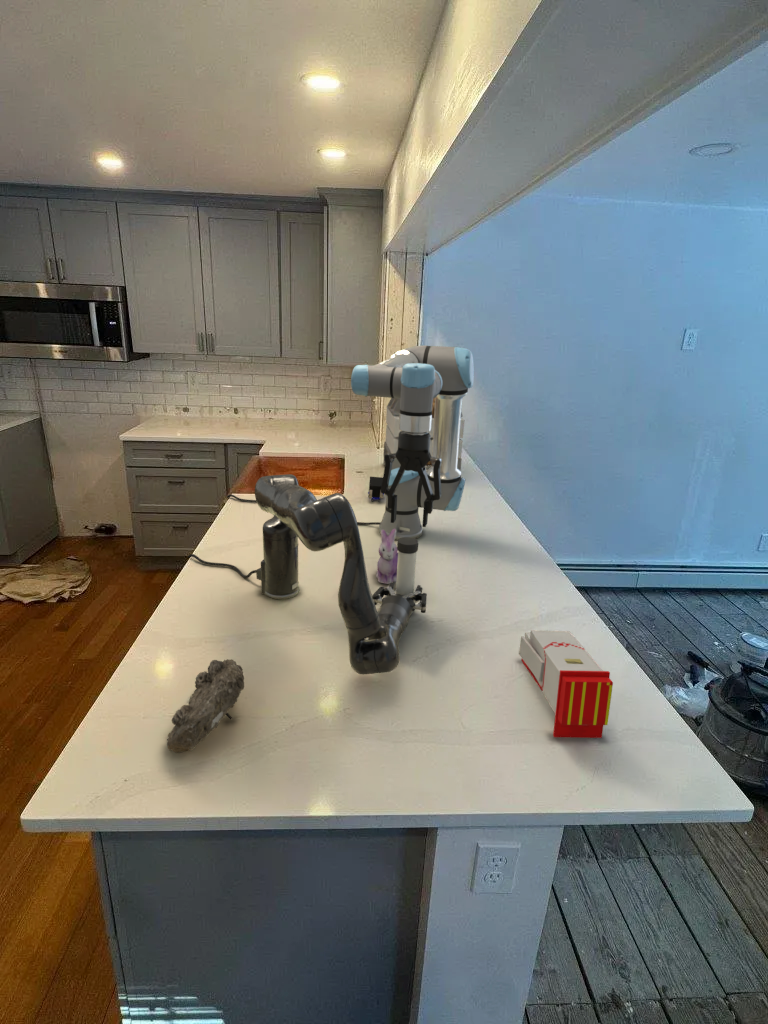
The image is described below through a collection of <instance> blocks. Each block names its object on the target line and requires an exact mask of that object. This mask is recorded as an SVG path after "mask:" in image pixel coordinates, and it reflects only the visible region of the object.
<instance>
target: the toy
mask: <svg viewBox="0 0 768 1024" xmlns="http://www.w3.org/2000/svg"><path fill="white" fill-rule="evenodd" d="M519 641H520V642H519V650H518V655H519V657H520V658H521V660H520V661H521V662H522V664H523V666H524V667H525V669H526V670H527V671H528V673H529V674H530V676H531V677H532V679H533V680H534V682H535V684H536V685H537V686H538V687H539V689H540V690H541V692H542V694H543V696H544V697H545V699H546V701H547V702H548V705H549V706H550V708H551V709H552V711H553V713H554V723H553V732H552V733H553V734H552V736H553V738H570V739H571V738H572V739H575V738H577V739H578V738H579V739H581V738H583V739H584V738H587V739H602V737H603V732H604V726H608V725H609V716H610V710H611V702H612V693H613V685H614V682H613V681H612V679H611V677H610V675H611V672H610V671H609V670H603V668H601V666H600V665H599V664H598V663H597V661H595V659H594V658H593V657H592V656H591V654H589V652H588V651H587V650H586V648H585V647H584V646H583V645H582V644H581V643H580V642H579V640H578V639H577V638H576V637H575V635H574V634H573V633H572V632H571V631H570V630H538V629H537V630H536V629H535V630H534V629H530V631H525V632H524V636H520V640H519Z"/></svg>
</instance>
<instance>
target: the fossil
mask: <svg viewBox="0 0 768 1024" xmlns="http://www.w3.org/2000/svg"><path fill="white" fill-rule="evenodd" d="M243 670H244V669H243V667H242V665H240V664H237V662H236V661H235V660H234V659H232V658H231V659H227V658H226V659H224V660H223V661H222V660H217V659H212V660H211V661H210V663H209V665H208V666H207V671H201V672H199V673H198V674H197V675H196V676H195V680H194V684H195V685H194V687H195V689H194V690H193V693H192V694H191V697H190V698H189V700H188V704H184V705H182V706H181V707H180V709H177V710H176V711H175V713H174V715H173V716H172V718H171V723H172V724H173V727H172V730H171V731H170V732H168V734H167V738H166V741H167V742H166V745H167V749H168V750H169V751H173V752H174V753H176V754H178V753H182V752H188V751H189V752H192V751H193V750H195V748H196V747H197V746H199V744H200V743H201V742H203V741H204V740H205V739H206V738H207V737H208V736H209V735H210V734H211V733H212V732H214V730H215V729H217V727H218V726H219V724H220V722H221V721H222V720H223V719H224V718H225V716H226V717H227V719H229V720H233V717H232V715H230V714H229V710H230V709H231V708H234V706H235V704H236V703H237V702H238V699H239V697H240V695H241V693H242V691H243V690H245V689H244V688H245V675H244V671H243Z"/></svg>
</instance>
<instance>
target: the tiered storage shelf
mask: <svg viewBox="0 0 768 1024" xmlns="http://www.w3.org/2000/svg"><path fill="white" fill-rule="evenodd" d="M400 400H401V399H398V398H390V400H389V402H388V404H387V405H386V413H385V414H386V415H385V423H386V428H385V438H384V442H383V466H384V467H385V458H384V456H385V455H386V454H387V453H396V452H397V450H398V435H399V433H400V430H399V416H400ZM434 408H435V398H433V405H432V421H431V431H430V432H428V433H429V434H430V449H429V451H430V454H431V456H432V445H433V426H434ZM464 429H465V419H464V418H463V411H461V422H460V435H459V449H458V462H457V468H458V469H459V470H460V471H461V472H462V461H463V460H462V453H463V442H464V441H463V440H462V439H463V438H464V431H465V430H464ZM400 466H401V465H400V463H399V461H398V460H397V458H395V460H394V462H392V469H391V470H393V469H396V468H400ZM425 467H431V462H430V461H429V462H428V463H427V464H426V465H425Z"/></svg>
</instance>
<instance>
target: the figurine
mask: <svg viewBox="0 0 768 1024" xmlns="http://www.w3.org/2000/svg"><path fill="white" fill-rule="evenodd" d="M395 536H396V529H393V530H392V531H391V533H390V534H389V536H387V534H386V532H385V530H381V534H380V541H381V543H380V545H379V547H378V554H379V556H380V557H379V558H378V560H377V562H376V569H377V571H376V574H375V577H376V579H377V582H378V583H380V584H386V585H390V583H393V581H395V582H396V580H397V562H398V550H397V543H396V542H395V541H396V540H395Z"/></svg>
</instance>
